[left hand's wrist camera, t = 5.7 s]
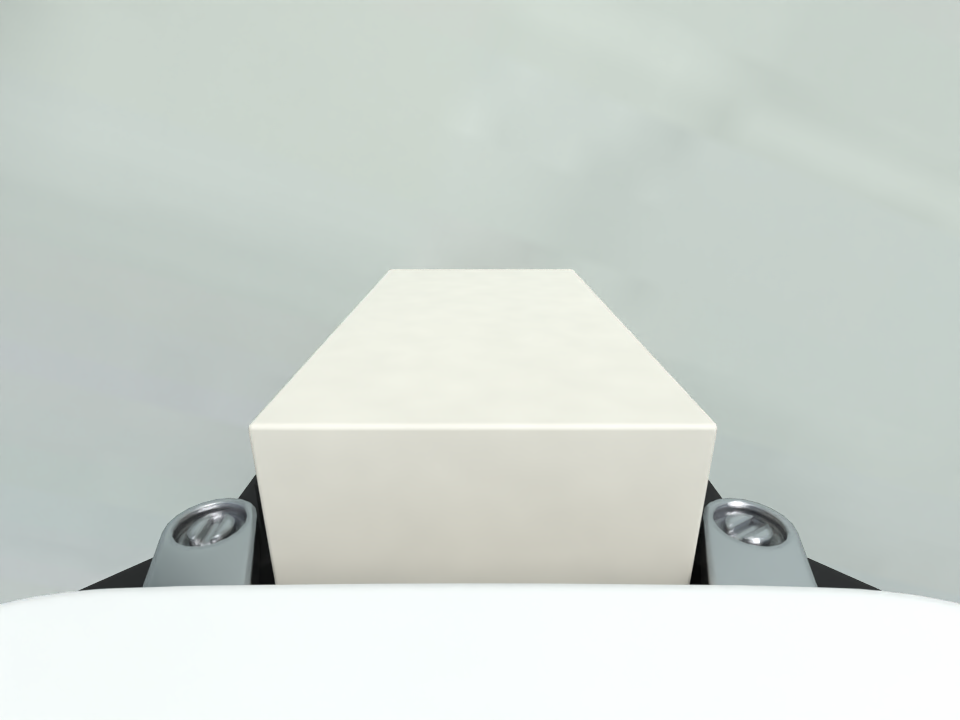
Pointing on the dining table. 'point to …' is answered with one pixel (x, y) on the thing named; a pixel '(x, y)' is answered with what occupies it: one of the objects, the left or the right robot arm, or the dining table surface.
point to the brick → (482, 442)
